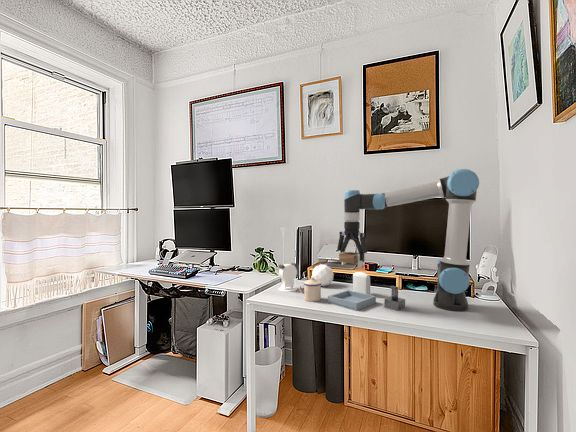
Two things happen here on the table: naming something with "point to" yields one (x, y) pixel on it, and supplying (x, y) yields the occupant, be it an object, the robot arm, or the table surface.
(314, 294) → the teacup with lid
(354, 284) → the photo printer
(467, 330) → the table surface
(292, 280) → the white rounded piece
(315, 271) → the geodesic sphere
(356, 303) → the slate tray
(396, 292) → the metal stake
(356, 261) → the walnut ring
